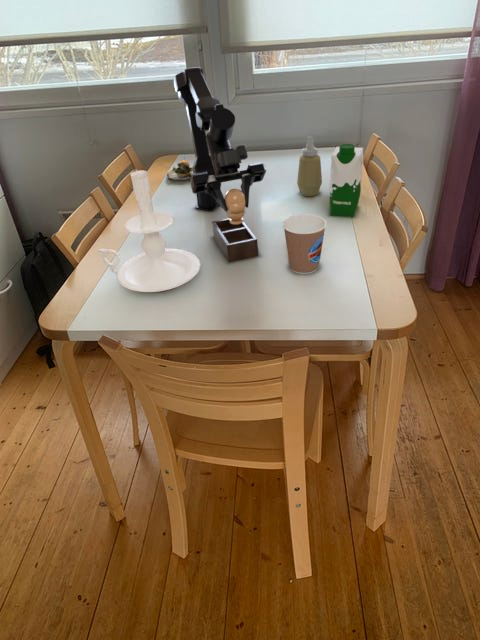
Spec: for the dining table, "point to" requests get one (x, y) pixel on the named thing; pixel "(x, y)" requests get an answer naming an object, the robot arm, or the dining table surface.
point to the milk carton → (345, 180)
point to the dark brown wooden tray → (235, 240)
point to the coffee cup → (304, 241)
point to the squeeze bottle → (309, 170)
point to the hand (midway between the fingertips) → (236, 209)
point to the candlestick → (152, 248)
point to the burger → (181, 171)
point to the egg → (235, 206)
